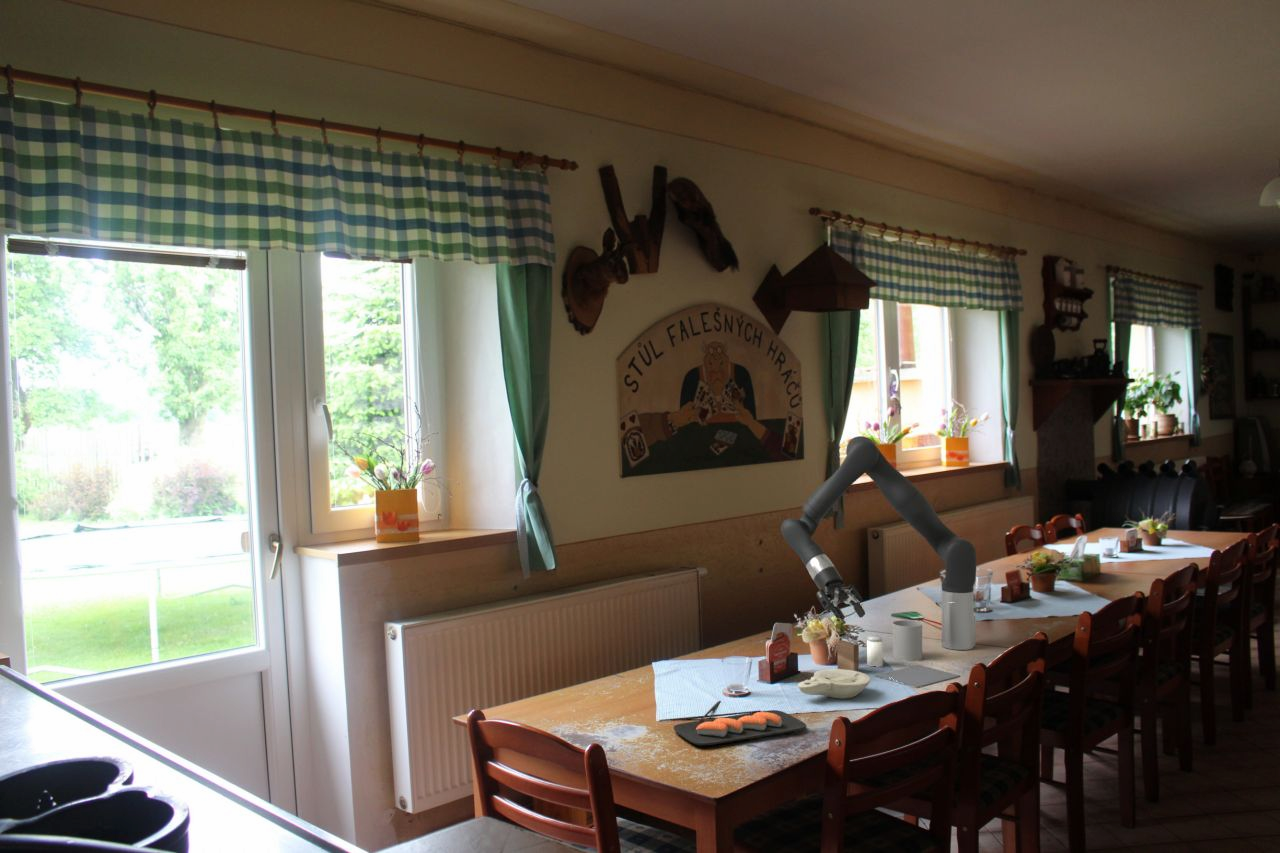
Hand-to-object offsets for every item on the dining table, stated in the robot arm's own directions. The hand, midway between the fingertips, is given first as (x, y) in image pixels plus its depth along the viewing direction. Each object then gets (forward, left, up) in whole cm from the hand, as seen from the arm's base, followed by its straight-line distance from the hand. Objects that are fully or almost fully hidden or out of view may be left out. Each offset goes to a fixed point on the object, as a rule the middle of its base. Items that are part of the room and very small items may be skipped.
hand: (852, 617), depth 288 cm
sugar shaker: (0, +8, -12) cm, 15 cm away
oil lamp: (+32, +22, -12) cm, 41 cm away
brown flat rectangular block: (+11, +8, -12) cm, 18 cm away
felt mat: (0, +23, -12) cm, 26 cm away
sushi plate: (+67, +21, -13) cm, 71 cm away
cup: (-14, +8, -12) cm, 20 cm away
